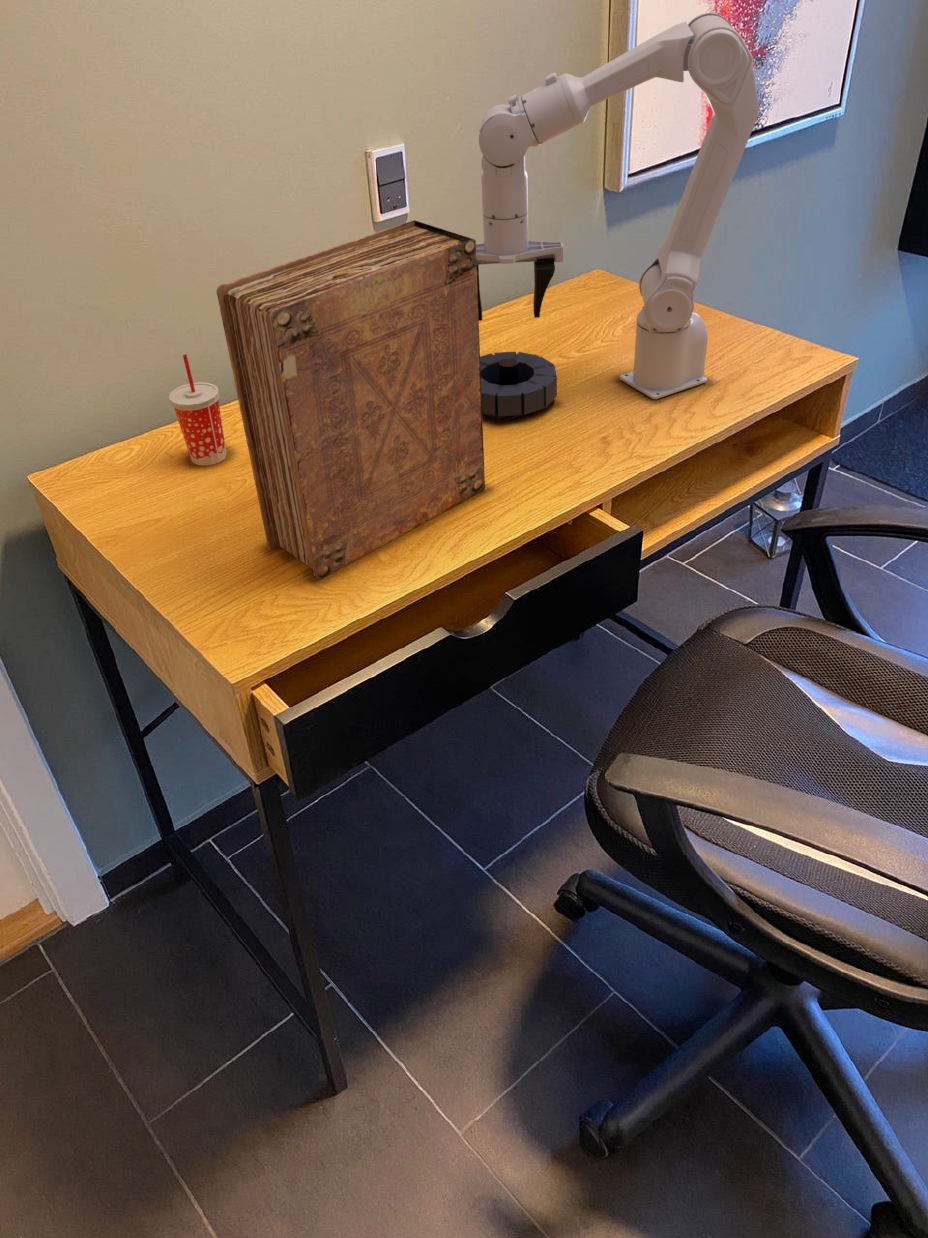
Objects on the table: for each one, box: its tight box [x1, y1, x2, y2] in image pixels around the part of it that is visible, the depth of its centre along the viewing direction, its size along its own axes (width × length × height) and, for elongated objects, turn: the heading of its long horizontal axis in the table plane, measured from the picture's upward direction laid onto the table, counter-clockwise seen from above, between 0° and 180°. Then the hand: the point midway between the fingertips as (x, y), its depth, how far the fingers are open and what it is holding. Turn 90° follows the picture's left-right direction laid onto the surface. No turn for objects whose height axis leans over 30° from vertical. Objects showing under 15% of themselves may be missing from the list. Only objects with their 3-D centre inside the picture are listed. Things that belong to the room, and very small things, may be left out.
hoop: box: [480, 351, 558, 417], centre depth 136 cm, size 13×13×3 cm
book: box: [215, 220, 486, 580], centre depth 107 cm, size 25×9×30 cm, turn 133°
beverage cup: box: [168, 354, 228, 466], centre depth 125 cm, size 6×6×14 cm
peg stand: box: [488, 358, 555, 424], centre depth 136 cm, size 9×9×6 cm
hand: (508, 316), depth 134 cm, fingers open, 7 cm apart
